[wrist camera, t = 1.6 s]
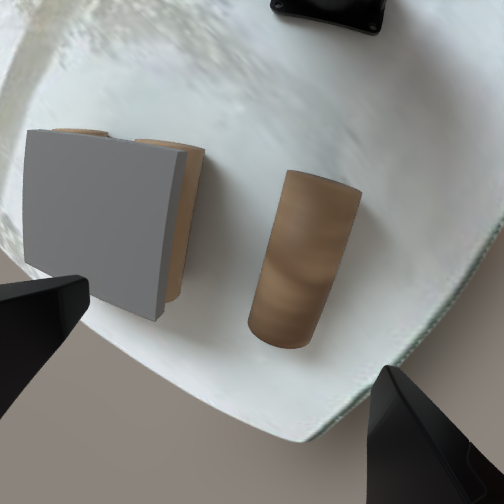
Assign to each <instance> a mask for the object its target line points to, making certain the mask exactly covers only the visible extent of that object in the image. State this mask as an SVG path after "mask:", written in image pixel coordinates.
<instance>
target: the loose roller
mask: <svg viewBox="0 0 504 504" xmlns="http://www.w3.org/2000/svg"><path fill="white" fill-rule="evenodd" d="M361 196H362V192H361V191H359V190H357V189H355V188H353V187H350V186H348V185H345V184H342V183H339V182H336V181H333V180H330V179H326V178H323V177H319V176H316V175H312V174H308V173H304V172H299V171H294V170H287V173H286V177H285V181H284V185H283V189H282V193H281V197H280V201H279V205H278V209H277V212H276V216H275V220H274V224H273V228H272V232H271V236H270V239H269V243H268V247H267V251H266V255H265V258H264V262H263V266H262V270H261V273H260V277H259V281H258V285H257V288H256V292H255V296H254V300H253V303H252V307H251V311H250V314H249V318H248V326H249V328H250V330H251V332H252V333H253V334H254V335H255V336H256V337H257V338H259V339H260V340H262V341H264V342H265V343H267V344H270V345H272V346H276V347H279V348H285V349H296V348H301V347H303V346H305V345H307V344H308V343H309V342H310V340H311V338H312V336H313V333H314V331H315V328H316V326H317V323H318V321H319V318H320V315H321V313H322V310H323V308H324V305H325V302H326V300H327V297H328V294H329V292H330V289H331V286H332V284H333V281H334V278H335V275H336V272H337V270H338V267H339V264H340V261H341V258H342V255H343V252H344V249H345V246H346V243H347V240H348V237H349V234H350V231H351V228H352V225H353V222H354V219H355V215H356V212H357V209H358V206H359V202H360V199H361Z"/></svg>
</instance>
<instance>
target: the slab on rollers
mask: <svg viewBox="0 0 504 504" xmlns="http://www.w3.org/2000/svg"><path fill="white" fill-rule="evenodd" d="M204 153H205V149H202V148H199V147H195V146H191V145H186V144H181V143H175V142H168V141H160V140H150V139H136V140H135V141H129V140H123V139H116V138H109V137H108V132H104V131H97V130H87V129H52V130H41V129H39V130H27V138H26V147H25V158H24V173H23V207H22V210H23V244H24V259H25V263H27V264H29V265H31V266H33V267H34V268H36V269H38V270H40V271H42V272H44V273H46V274H48V275H50V276H52V277H61V276H68V275H76V274H77V275H80V276H83V277H85V278H87V279H88V281H89V291H90V295H92V296H94V297H96V298H99V299H101V300H103V301H105V302H108V303H110V304H112V305H115V306H117V307H119V308H122V309H124V310H126V311H129V312H131V313H134V314H136V315H139V316H141V317H144V318H146V319H149V320H151V321H154V322H155V321H156V320H157V319H158V318H159V317H160V316H161V315H162V313H163V312H164V308H165V303H167V302H170V301H173V300H174V299H176V298H177V297H178V296H179V294H180V291H181V284H182V277H183V270H184V263H185V257H186V251H187V244H188V238H189V232H190V226H191V221H192V215H193V209H194V204H195V198H196V193H197V188H198V183H199V178H200V173H201V168H202V163H203V158H204Z"/></svg>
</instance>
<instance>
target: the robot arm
mask: <svg viewBox="0 0 504 504" xmlns="http://www.w3.org/2000/svg"><path fill="white" fill-rule="evenodd" d="M386 1H387V0H271V2H270V7H271V10H272V11H273V12H274V13H276V14H281V15H288V16H294V17H299V18H304V19H309V20H314V21H319V22H323V23H328V24H332V25H336V26H340V27H344V28H348V29H351V30H355V31H358V32H362V33H365V34H368V35H373V36H374V35H377V34H379V32H380V30H381V27H382V21H383V15H384V9H385V3H386ZM278 4H281V5H283V6H282V7H281V8H276V7H275V6H276V5H278ZM369 25H373V26H375V28H376V29H375V30H372V29H370V28H369ZM89 305H90V291H89V281H88V279H87V278H85V277H83V276H80V275H77V274H76V275H68V276H61V277H53V278H46V279H38V280H31V281H23V282H15V283H8V284H1V285H0V419H1V418H2V417H3V415H4V414H5V413H6V411H7V410H8V409H9V407H10V406H11V405H12V404H13V402H14V401H15V400H16V399H17V397H18V396H19V395H20V393H21V392H22V391H23V389H24V388H25V387H26V386H27V385H28V384H29V382H30V381H31V380H32V379H33V377H34V376H35V375H36V374H37V372H38V371H39V370H40V369H41V368H42V367H43V365H44V364H45V363H46V362H47V361H48V360H49V358H50V357H51V356H52V355H53V354H54V353H55V351H56V350H57V349H58V348H59V347H60V346H61V344H62V343H63V342H64V341H65V339H66V338H67V337H68V335H69V334H70V332H71V331H72V330H73V328H74V327H75V326H76V324H77V323H78V321H79V320H80V319H81V317H82V316H83V315H84V313H85V312H86V311H87V309H88V307H89ZM366 504H504V474H503V473H501V472H500V471H499V470H498V469H497V468H496V467H495V466H494V465H493V464H492V463H491V462H490V461H489V460H488V459H487V458H486V457H485V456H484V455H483V454H482V453H481V452H480V451H479V450H478V449H477V448H476V447H475V446H474V445H473V444H472V443H471V442H469V440H468V438H467V437H466V436H465V435H464V434H463V433H462V432H461V431H460V430H459V429H458V428H457V427H456V426H455V425H454V424H453V423H452V422H451V421H450V420H449V419H448V417H446V415H445V414H444V413H443V412H442V411H441V410H440V409H439V408H438V407H437V406H436V405H435V404H434V403H433V402H432V401H431V400H430V399H429V398H428V397H427V396H426V395H425V394H424V393H423V392H422V391H421V390H420V389H419V387H418V386H417V385H416V384H414V383H413V381H412V380H411V379H410V378H409V377H408V376H407V375H406V374H405V373H404V372H403V371H402V370H401V369H400V368H399V367H396V366H390V365H385V366H384V367H383V368H382V370H381V372H380V374H379V375H378V377H377V379H376V381H375V383H374V384H373V386H372V389H371V393H370V408H369V420H368V432H367V499H366Z"/></svg>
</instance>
